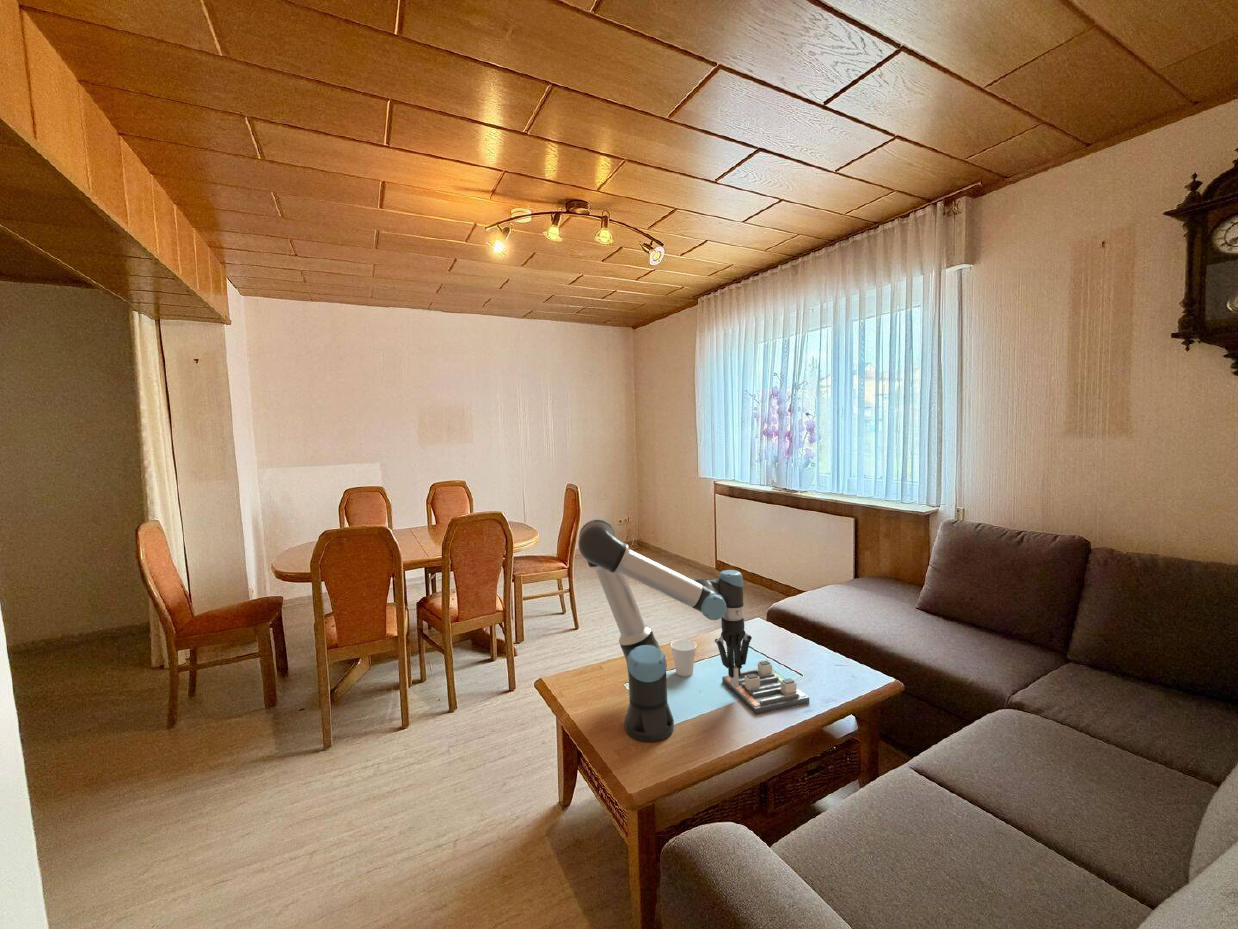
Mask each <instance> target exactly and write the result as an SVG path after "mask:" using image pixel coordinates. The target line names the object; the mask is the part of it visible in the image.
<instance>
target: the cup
mask: <svg viewBox="0 0 1238 929" xmlns="http://www.w3.org/2000/svg"><path fill="white" fill-rule="evenodd" d="M697 647H698V645H697V643H696V642H695V641H693V640H689V639H675V640H673V641H672V642H671V643H670V648H671V652H672V656H673V662H674V668H675V672H676V675H678V676H679V677H684V678H685V677H691V675H693V672H694V668H695V667H694V665H695V658H696V651H697Z"/></svg>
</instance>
